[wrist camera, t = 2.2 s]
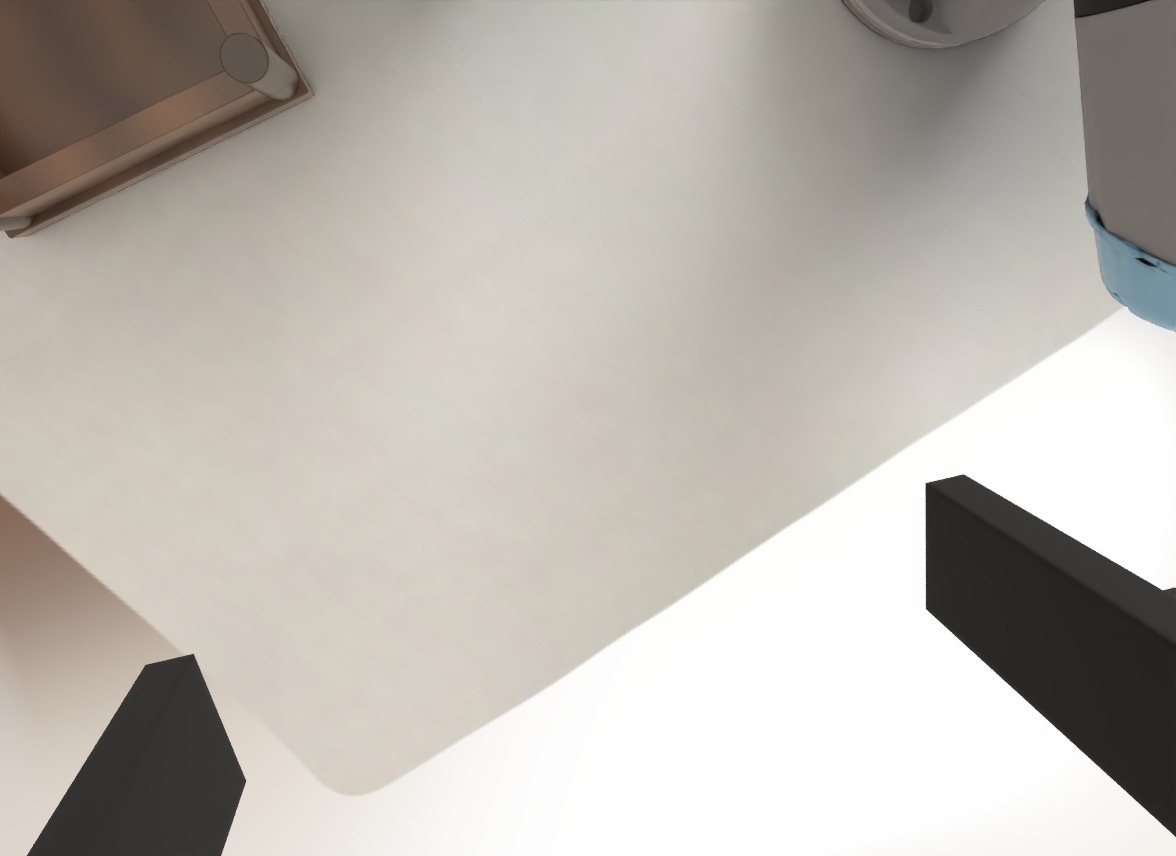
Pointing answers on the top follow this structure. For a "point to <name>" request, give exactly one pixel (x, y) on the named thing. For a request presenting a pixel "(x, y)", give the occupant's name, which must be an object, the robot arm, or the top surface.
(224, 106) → the wooden tray
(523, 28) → the top surface
